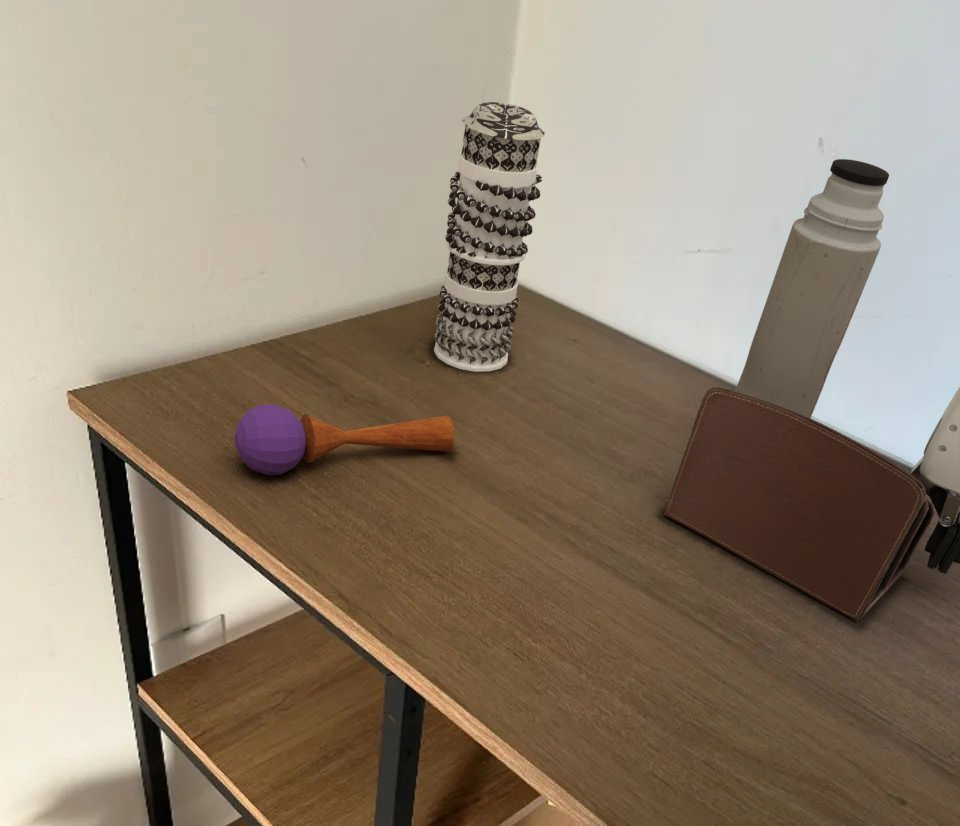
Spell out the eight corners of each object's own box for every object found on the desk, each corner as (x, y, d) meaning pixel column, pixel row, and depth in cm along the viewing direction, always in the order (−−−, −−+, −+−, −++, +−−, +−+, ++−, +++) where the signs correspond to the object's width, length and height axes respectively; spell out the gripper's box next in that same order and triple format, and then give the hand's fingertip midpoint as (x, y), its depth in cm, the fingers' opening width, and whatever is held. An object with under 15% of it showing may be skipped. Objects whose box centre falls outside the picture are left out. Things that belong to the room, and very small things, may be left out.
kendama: (467, 430, 87) (249, 437, 78) (449, 478, 92) (241, 491, 83) (443, 388, 90) (231, 390, 81) (428, 437, 95) (224, 444, 86)
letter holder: (857, 625, 80) (933, 481, 71) (660, 516, 89) (705, 375, 79) (901, 577, 87) (976, 440, 77) (713, 480, 95) (761, 346, 86)
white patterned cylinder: (527, 358, 110) (572, 117, 93) (477, 381, 104) (516, 128, 87) (465, 329, 113) (498, 91, 97) (414, 349, 107) (439, 100, 91)
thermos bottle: (794, 442, 103) (907, 165, 85) (791, 478, 98) (912, 188, 79) (721, 423, 104) (817, 144, 86) (714, 457, 98) (815, 166, 80)
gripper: (1160, 377, 70) (1030, 574, 82) (954, 314, 74) (859, 511, 86) (1165, 416, 65) (1025, 620, 77) (943, 345, 69) (843, 550, 81)
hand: (938, 562), depth 82 cm, fingers closed
